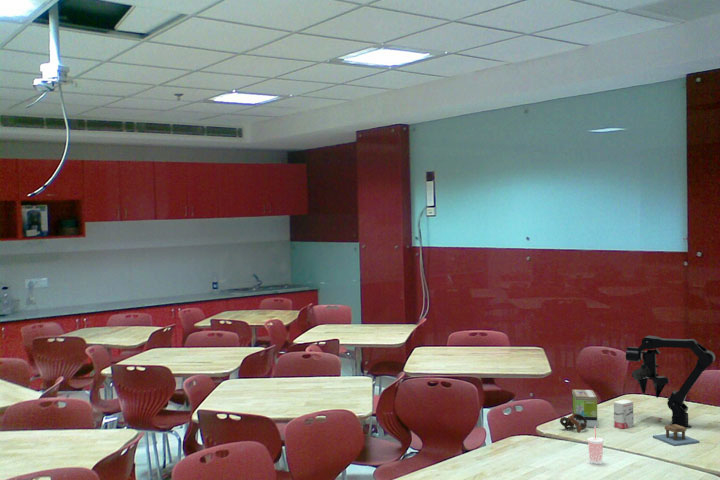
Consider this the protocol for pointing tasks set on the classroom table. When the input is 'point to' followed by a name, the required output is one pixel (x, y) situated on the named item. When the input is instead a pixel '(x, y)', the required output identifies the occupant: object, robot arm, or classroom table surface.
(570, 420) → the toy cannon
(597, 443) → the beverage cup
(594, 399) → the tea box
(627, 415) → the ink box
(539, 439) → the classroom table surface
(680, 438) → the rubber mat
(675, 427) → the walnut stool
